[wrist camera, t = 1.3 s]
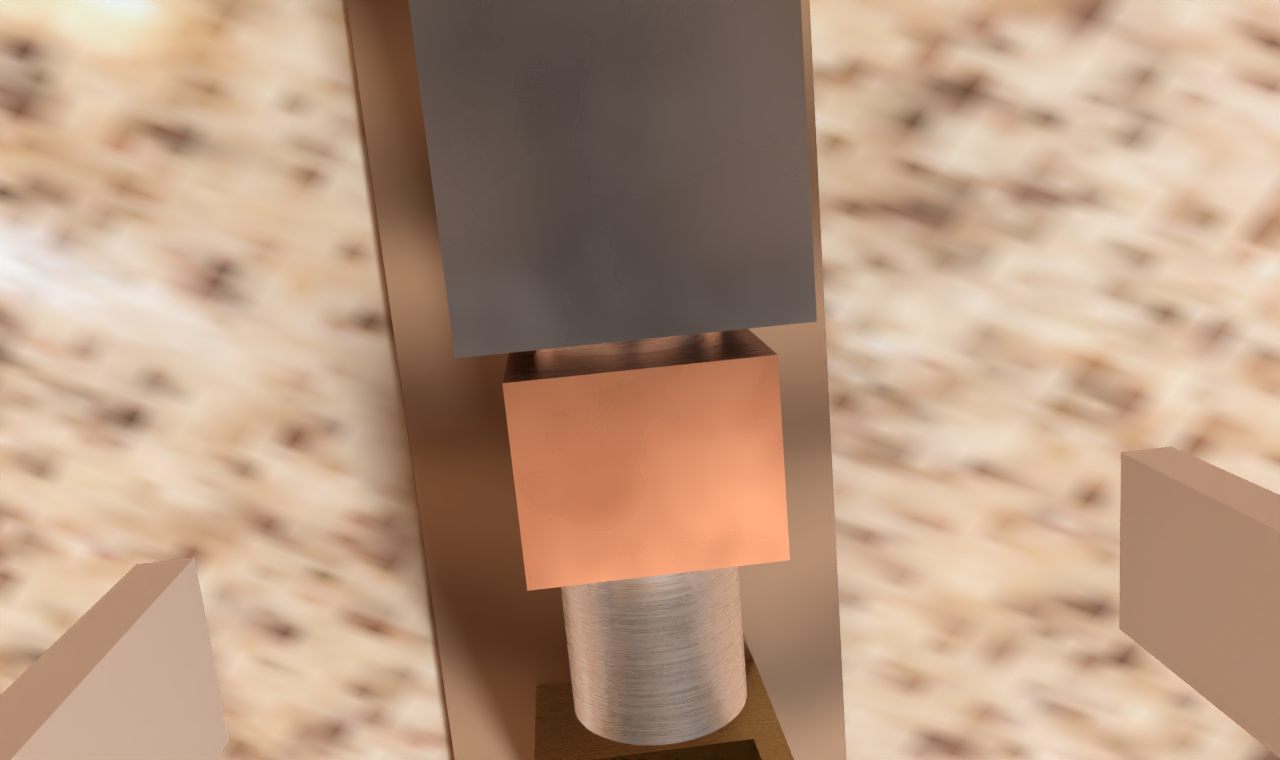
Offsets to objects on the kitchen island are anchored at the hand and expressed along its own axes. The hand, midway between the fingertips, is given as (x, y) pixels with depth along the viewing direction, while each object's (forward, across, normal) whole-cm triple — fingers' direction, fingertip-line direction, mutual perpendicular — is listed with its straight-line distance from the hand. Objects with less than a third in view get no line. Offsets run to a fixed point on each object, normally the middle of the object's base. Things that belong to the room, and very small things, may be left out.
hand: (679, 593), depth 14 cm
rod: (+12, 0, +2) cm, 12 cm away
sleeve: (+16, 0, +7) cm, 17 cm away
